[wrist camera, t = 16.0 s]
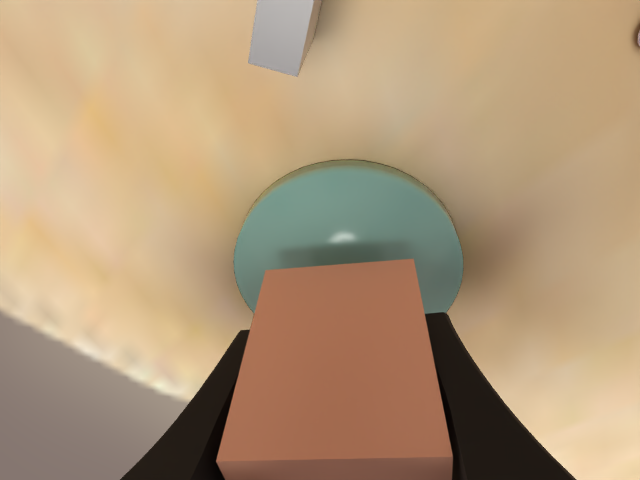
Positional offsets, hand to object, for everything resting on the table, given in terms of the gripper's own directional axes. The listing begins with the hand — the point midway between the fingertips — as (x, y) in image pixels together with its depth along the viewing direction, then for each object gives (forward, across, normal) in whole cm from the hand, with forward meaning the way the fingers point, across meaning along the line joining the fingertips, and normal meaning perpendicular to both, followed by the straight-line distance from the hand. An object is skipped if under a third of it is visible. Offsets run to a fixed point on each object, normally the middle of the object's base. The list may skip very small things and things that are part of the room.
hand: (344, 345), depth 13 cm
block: (+2, 0, 0) cm, 2 cm away
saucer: (+4, 0, 0) cm, 4 cm away
